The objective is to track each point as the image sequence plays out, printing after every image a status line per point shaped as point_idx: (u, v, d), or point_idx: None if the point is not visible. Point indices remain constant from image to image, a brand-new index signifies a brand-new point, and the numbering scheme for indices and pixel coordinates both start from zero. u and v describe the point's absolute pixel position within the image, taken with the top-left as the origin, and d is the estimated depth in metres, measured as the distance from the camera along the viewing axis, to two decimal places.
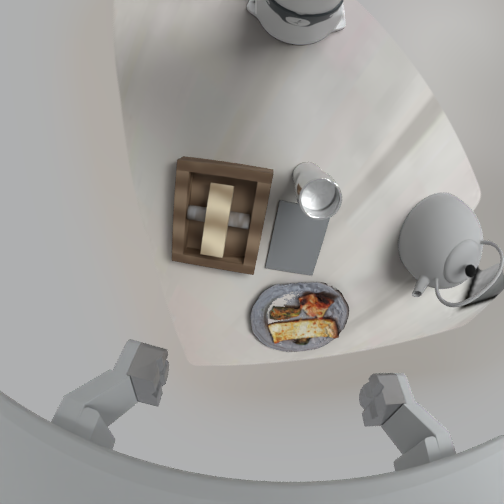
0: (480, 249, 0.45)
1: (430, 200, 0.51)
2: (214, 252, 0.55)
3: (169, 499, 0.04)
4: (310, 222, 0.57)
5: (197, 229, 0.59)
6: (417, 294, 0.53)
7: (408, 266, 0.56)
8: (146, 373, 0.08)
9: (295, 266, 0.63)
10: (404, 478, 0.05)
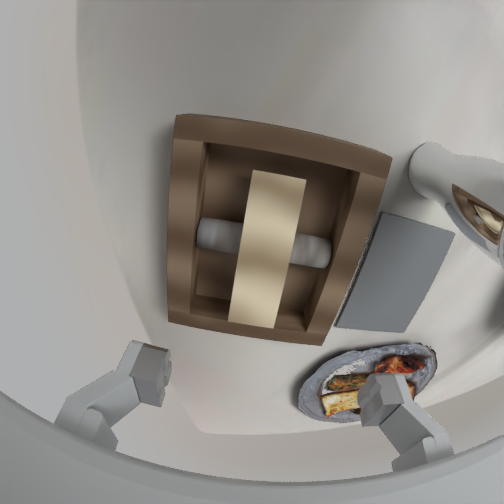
0: None
1: None
2: (258, 318, 0.26)
3: (169, 499, 0.04)
4: (423, 252, 0.28)
5: (216, 263, 0.30)
6: None
7: None
8: (149, 374, 0.08)
9: (383, 322, 0.34)
10: (403, 478, 0.05)
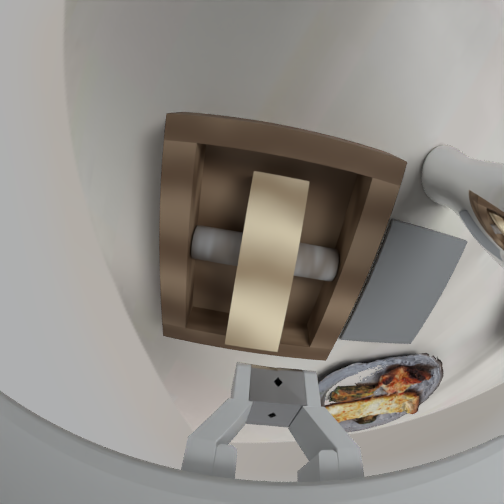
0: None
1: None
2: (260, 340, 0.22)
3: (169, 499, 0.04)
4: (434, 262, 0.26)
5: (213, 274, 0.28)
6: None
7: None
8: (268, 396, 0.08)
9: (390, 334, 0.31)
10: (403, 478, 0.05)
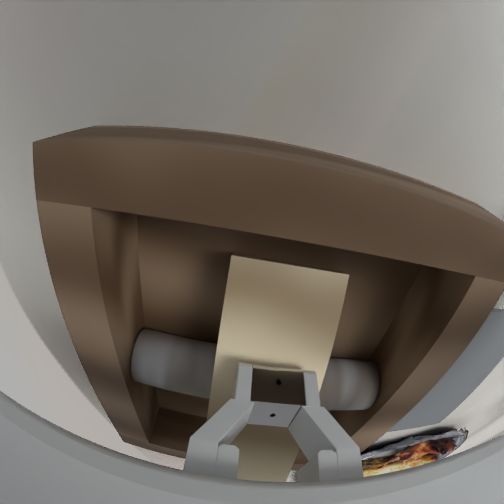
0: None
1: None
2: None
3: (169, 499, 0.04)
4: (492, 346, 0.15)
5: None
6: None
7: None
8: (270, 396, 0.08)
9: (419, 420, 0.20)
10: (404, 478, 0.05)
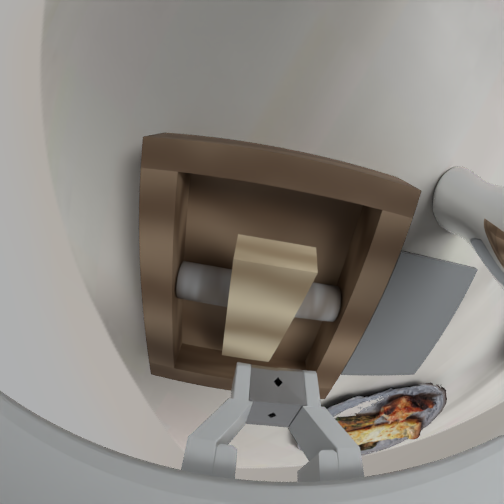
0: None
1: None
2: (253, 356, 0.24)
3: (169, 499, 0.04)
4: (442, 293, 0.23)
5: (203, 312, 0.25)
6: None
7: None
8: (268, 396, 0.08)
9: (393, 366, 0.28)
10: (404, 478, 0.05)
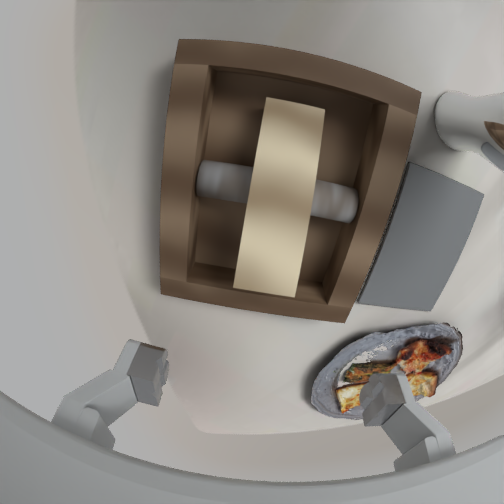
0: None
1: None
2: (275, 282, 0.19)
3: (169, 499, 0.04)
4: (453, 213, 0.23)
5: (219, 221, 0.25)
6: None
7: None
8: (146, 373, 0.08)
9: (410, 297, 0.29)
10: (404, 478, 0.05)
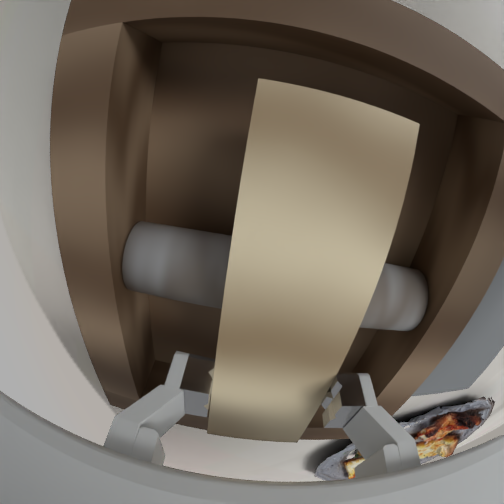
0: None
1: None
2: (269, 433, 0.11)
3: (169, 499, 0.04)
4: None
5: (183, 314, 0.15)
6: None
7: None
8: (200, 386, 0.08)
9: (450, 381, 0.18)
10: (403, 478, 0.05)
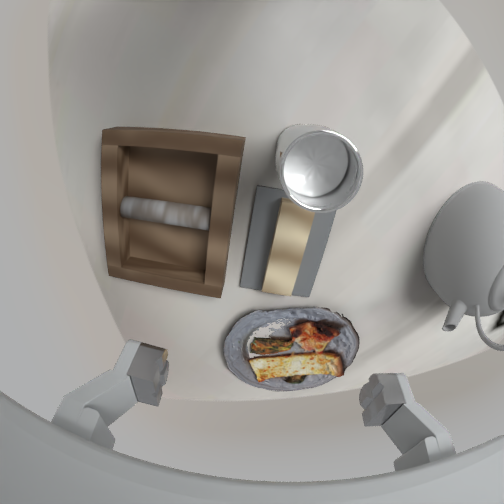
0: None
1: (469, 191, 0.31)
2: (281, 290, 0.41)
3: (169, 499, 0.04)
4: None
5: (140, 231, 0.39)
6: (449, 327, 0.33)
7: (437, 286, 0.37)
8: (146, 373, 0.08)
9: None
10: (404, 478, 0.05)
